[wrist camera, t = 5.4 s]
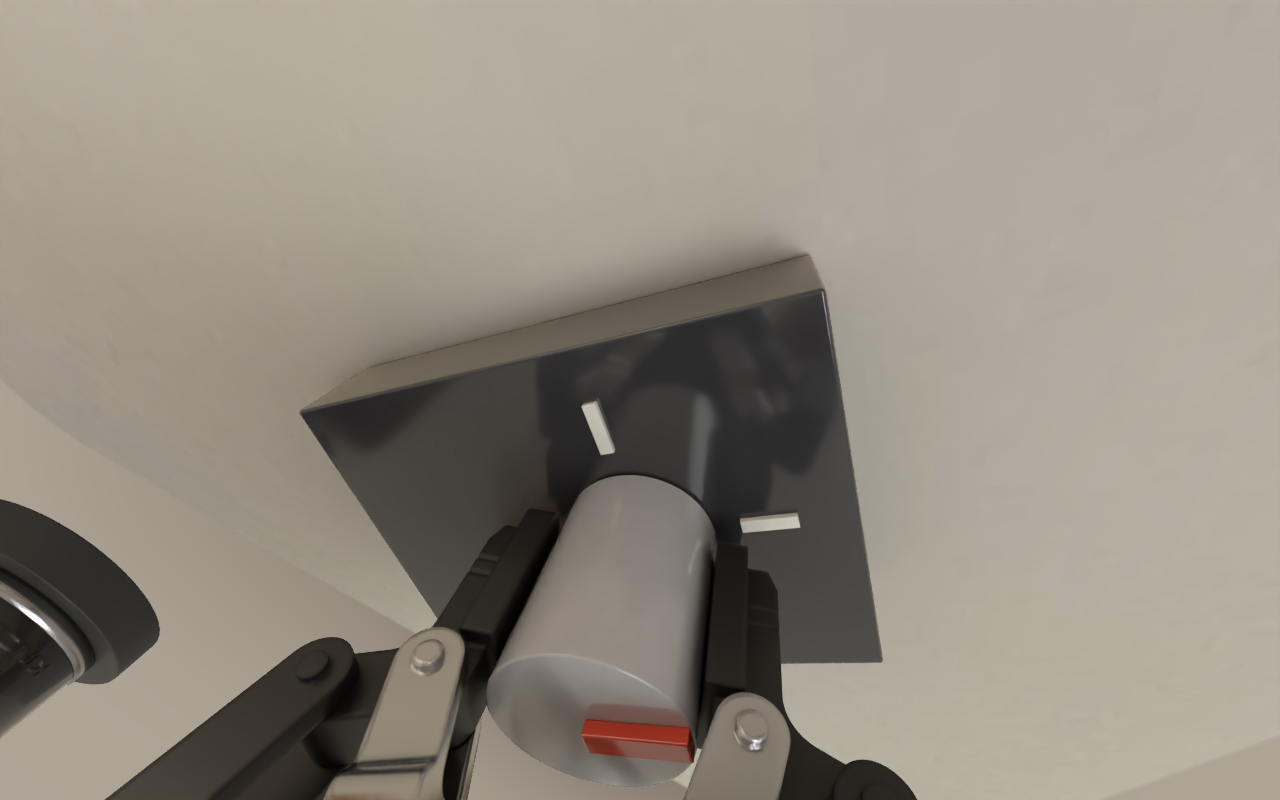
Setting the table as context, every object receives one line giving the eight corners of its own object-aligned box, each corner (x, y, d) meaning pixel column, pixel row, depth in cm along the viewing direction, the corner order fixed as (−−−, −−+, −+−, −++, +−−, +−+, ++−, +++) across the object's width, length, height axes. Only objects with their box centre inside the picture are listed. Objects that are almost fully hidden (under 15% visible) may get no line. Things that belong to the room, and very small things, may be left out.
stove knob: (591, 587, 15) (518, 792, 10) (551, 478, 13) (442, 666, 9) (726, 587, 14) (712, 818, 9) (702, 468, 12) (670, 678, 7)
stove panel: (505, 601, 21) (467, 672, 18) (368, 366, 16) (292, 414, 14) (863, 580, 17) (885, 669, 14) (810, 253, 12) (826, 290, 9)
